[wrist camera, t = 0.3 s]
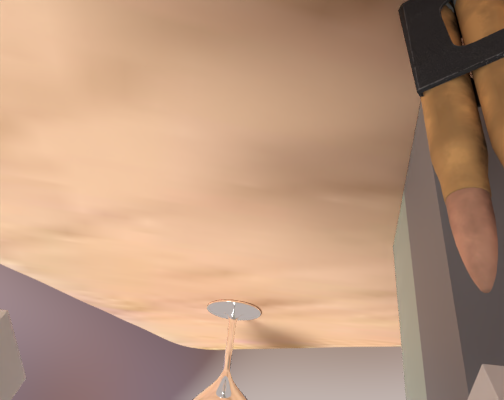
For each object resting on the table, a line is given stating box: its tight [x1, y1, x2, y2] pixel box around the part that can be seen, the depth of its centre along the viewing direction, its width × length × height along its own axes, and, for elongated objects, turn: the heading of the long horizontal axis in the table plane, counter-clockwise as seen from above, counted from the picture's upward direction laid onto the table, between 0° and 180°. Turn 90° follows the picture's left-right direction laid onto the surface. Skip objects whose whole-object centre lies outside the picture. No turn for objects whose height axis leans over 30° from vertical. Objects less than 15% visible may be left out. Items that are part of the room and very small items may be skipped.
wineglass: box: [192, 300, 261, 400], centre depth 46 cm, size 8×8×18 cm
